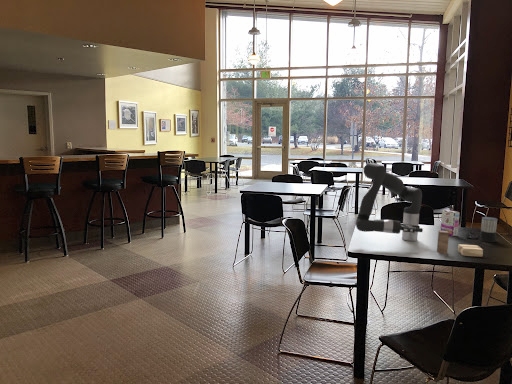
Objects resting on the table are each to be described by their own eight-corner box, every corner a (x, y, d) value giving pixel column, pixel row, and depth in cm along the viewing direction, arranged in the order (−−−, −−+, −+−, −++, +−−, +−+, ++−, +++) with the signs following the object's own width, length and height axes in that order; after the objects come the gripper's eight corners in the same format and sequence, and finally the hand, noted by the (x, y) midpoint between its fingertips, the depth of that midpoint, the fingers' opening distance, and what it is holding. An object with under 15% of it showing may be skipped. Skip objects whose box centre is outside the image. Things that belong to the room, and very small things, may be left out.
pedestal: (457, 250, 241) (458, 244, 240) (476, 252, 239) (477, 245, 238) (462, 255, 231) (463, 248, 230) (482, 256, 229) (483, 249, 228)
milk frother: (498, 242, 265) (501, 219, 264) (474, 241, 265) (476, 219, 263) (486, 237, 279) (488, 215, 278) (463, 236, 279) (465, 215, 278)
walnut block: (436, 250, 239) (438, 230, 238) (445, 251, 238) (446, 231, 237) (438, 252, 235) (440, 232, 233) (447, 253, 234) (449, 232, 232)
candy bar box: (458, 236, 281) (460, 212, 279) (452, 236, 279) (454, 212, 277) (445, 232, 291) (447, 209, 289) (439, 232, 289) (441, 209, 287)
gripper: (393, 222, 232) (424, 224, 230) (390, 218, 246) (419, 220, 243) (392, 235, 233) (422, 237, 230) (389, 230, 247) (417, 232, 244)
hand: (420, 228), depth 237 cm, fingers open, 8 cm apart
